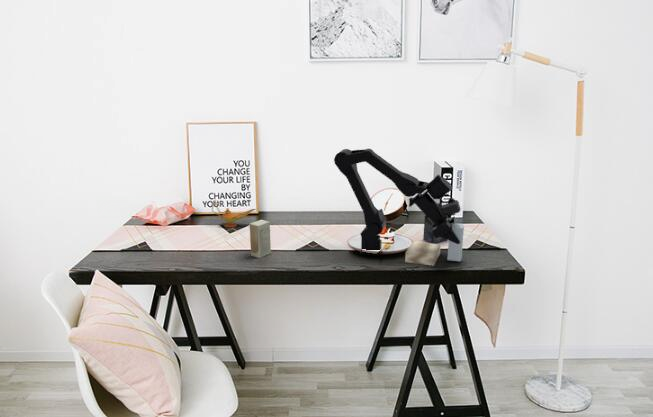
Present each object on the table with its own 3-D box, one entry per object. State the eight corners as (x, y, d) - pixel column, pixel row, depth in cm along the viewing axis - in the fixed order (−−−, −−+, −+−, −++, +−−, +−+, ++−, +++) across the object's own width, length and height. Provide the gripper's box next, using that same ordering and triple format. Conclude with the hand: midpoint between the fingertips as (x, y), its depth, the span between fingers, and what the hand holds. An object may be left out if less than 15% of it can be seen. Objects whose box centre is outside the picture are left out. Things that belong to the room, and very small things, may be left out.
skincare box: (262, 250, 225) (261, 218, 221) (271, 253, 222) (270, 221, 219) (250, 255, 220) (248, 223, 217) (258, 258, 218) (257, 225, 214)
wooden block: (405, 262, 215) (405, 252, 214) (412, 251, 226) (413, 241, 225) (433, 266, 212) (434, 255, 211) (439, 255, 223) (440, 244, 222)
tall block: (447, 260, 214) (449, 227, 211) (448, 255, 218) (450, 223, 215) (460, 261, 213) (463, 228, 210) (461, 256, 217) (464, 224, 214)
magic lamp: (256, 227, 251) (255, 201, 247) (211, 228, 249) (210, 202, 246) (257, 222, 257) (256, 196, 254) (213, 223, 256) (212, 197, 253)
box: (433, 244, 232) (434, 217, 229) (422, 240, 237) (424, 213, 234) (448, 240, 237) (450, 214, 234) (437, 236, 241) (439, 210, 238)
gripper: (444, 200, 201) (476, 235, 202) (450, 186, 219) (479, 219, 219) (419, 220, 206) (450, 255, 206) (426, 205, 223) (455, 237, 223)
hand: (459, 241), depth 213 cm, fingers closed on tall block, 4 cm apart
